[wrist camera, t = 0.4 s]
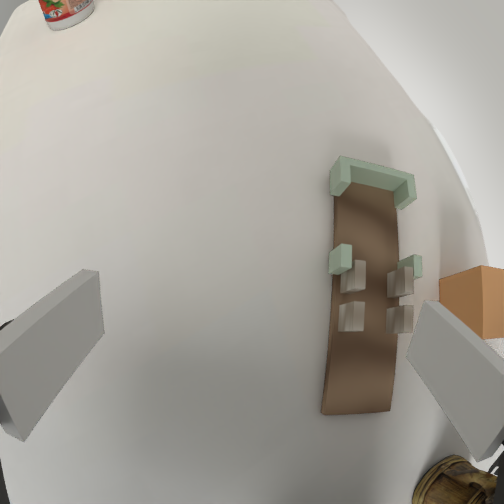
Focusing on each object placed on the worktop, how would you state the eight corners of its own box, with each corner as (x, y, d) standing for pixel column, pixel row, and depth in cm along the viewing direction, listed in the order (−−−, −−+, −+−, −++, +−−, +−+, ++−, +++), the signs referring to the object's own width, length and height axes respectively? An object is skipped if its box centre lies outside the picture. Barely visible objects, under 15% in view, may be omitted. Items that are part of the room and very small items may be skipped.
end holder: (405, 282, 29) (422, 276, 26) (328, 273, 28) (340, 266, 25) (399, 186, 32) (413, 174, 29) (329, 170, 31) (340, 155, 28)
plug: (462, 398, 27) (503, 403, 20) (432, 403, 27) (475, 411, 20) (467, 282, 31) (507, 270, 24) (439, 279, 30) (481, 265, 24)
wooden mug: (455, 414, 27) (578, 432, 9) (467, 486, 24) (561, 518, 7) (398, 457, 25) (520, 513, 8) (416, 526, 22) (505, 582, 5)
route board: (385, 409, 26) (407, 417, 22) (320, 412, 26) (337, 423, 21) (389, 187, 33) (408, 170, 29) (333, 175, 32) (348, 154, 28)
